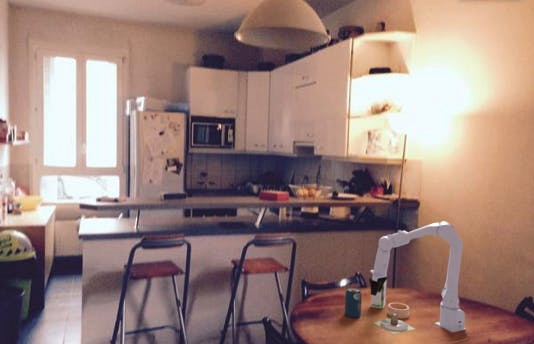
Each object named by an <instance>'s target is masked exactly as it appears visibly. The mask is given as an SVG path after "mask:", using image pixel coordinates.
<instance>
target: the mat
mask: <svg viewBox="0 0 534 344" xmlns="http://www.w3.org/2000/svg"><path fill="white" fill-rule="evenodd" d="M381 321H382V320H380V321H375V322H373V324H375V325H377V326H378V327H380V328H382V329H384V330H385V331H387V332H389V333H390V334H392V335H395V334H400V333H404V332H408V331H413V330H416V328H415V327H412V326H411V325H409V324H407V325H408V329H407V330H405V331H391V330H388V329H385V328H383V327H382V326H381V324H380V323H381Z"/></svg>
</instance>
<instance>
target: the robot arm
mask: <svg viewBox="0 0 534 344" xmlns="http://www.w3.org/2000/svg"><path fill="white" fill-rule="evenodd" d="M429 235H430V236H433V237H437V236H438V237H439V238H440V239H441V240H443V241H445V242H446V243H447V244H448V245H449V247H450V248H449V256H448V262H447V269H446V271H447V272H446V279H445V283H444V287H443V288H442V290H441V293H440V294H441V297H442V300H441V302H440V307H439V321H437V322H435V323H434V325H437V326H439V327H440V328H443V329H445V330H447V331H449V332H451V333H456V332H461V331H465V330H466V327H465V324H466V313H465V311H464V310H462V309H461V308H460V298H459V295H458V294H459V280H460V279H459V278H460V273H461V265H462V257H463V250H464V249H463V248H464V242H463V240H462V239H461V237H460V235H459V232H458V231H457V230H456V228H455V227H454V226H453V225H452V224H451V223H450V222H448V221H447V220H443V221H440V222H434V223H431V224H426V225H425V226H422V227H419V228H416V229H414V230H411V231H409V232H408V231H406V230H401V229H399V230H397V232H395V233H392V234H387V235H383V236H382V237H380V238H379V240H378V244H377V245H378V247H377V252H376V255H375V260H374V267H373V269H370V271H369V272H370V273H371V274H372V276H371V277H369V278H368V282H369V285H370V295H371V296H372V295H374V296H376V294H377V292H378V291H381V289H382V287H383V285H384V283H385V281H386V282H387V280H388V279H389V276H388V275H387V273H388V268H389V263H390V258H391V254H390V253H391V250H392V248H397V247H401V246H404V245H407V244H409V243H410V241H411V240H414V239H417V238H422V237H425V236H429ZM372 277H373V278H372ZM386 279H387V280H386Z"/></svg>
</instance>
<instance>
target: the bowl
mask: <svg viewBox="0 0 534 344" xmlns="http://www.w3.org/2000/svg"><path fill="white" fill-rule="evenodd" d="M391 313H396V314H398V319H408V318H409V316H410V306H409V305H407V304H405V303H401V302H390V303H388V304H387V315H388V316H390V317H391Z"/></svg>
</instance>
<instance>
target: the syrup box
mask: <svg viewBox="0 0 534 344" xmlns="http://www.w3.org/2000/svg"><path fill="white" fill-rule="evenodd" d="M371 278H373V276H371ZM387 280H388V278H387V279H386V281H385V283H384V285H383V287H382V289H381V291H378V292H377V294H376V296H374V295H371V298H370V307H371V308H378V309H384V308H385V306H386V297H387V295H386V294H387Z"/></svg>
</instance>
